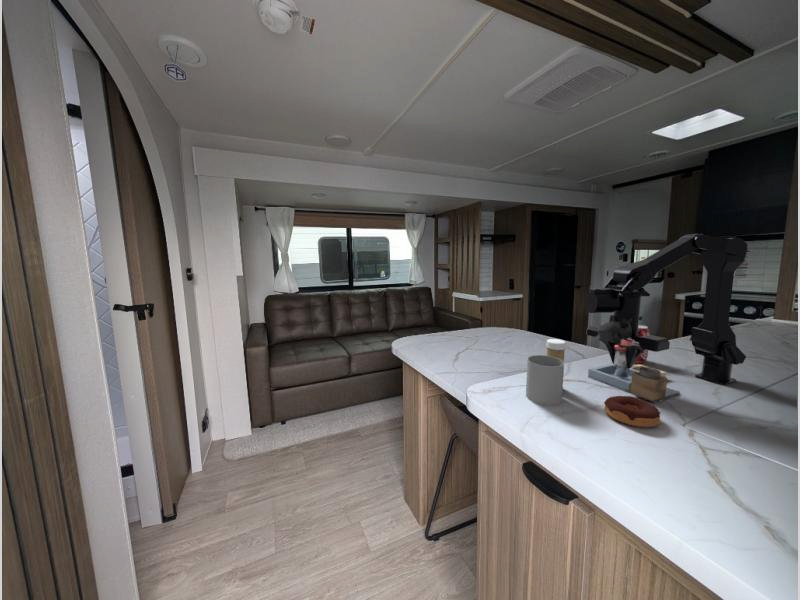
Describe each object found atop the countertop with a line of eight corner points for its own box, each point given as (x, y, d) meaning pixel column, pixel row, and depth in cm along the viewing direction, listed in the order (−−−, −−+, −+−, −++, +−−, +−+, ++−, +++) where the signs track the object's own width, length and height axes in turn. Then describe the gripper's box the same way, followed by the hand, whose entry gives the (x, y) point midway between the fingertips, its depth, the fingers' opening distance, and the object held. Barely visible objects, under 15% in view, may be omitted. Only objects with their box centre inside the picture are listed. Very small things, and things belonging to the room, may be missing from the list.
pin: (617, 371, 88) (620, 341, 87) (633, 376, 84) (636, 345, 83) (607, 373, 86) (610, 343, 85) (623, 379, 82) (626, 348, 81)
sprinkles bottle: (566, 388, 81) (569, 341, 79) (557, 393, 79) (560, 344, 77) (549, 383, 85) (552, 337, 83) (540, 387, 82) (543, 340, 80)
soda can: (645, 359, 102) (648, 325, 100) (648, 365, 96) (652, 329, 94) (619, 355, 106) (622, 322, 104) (621, 361, 100) (624, 327, 98)
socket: (638, 370, 93) (639, 364, 92) (665, 378, 86) (666, 372, 86) (624, 374, 90) (624, 367, 90) (650, 382, 84) (651, 376, 83)
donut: (644, 409, 70) (646, 393, 69) (671, 434, 61) (673, 415, 60) (596, 405, 72) (597, 390, 72) (614, 428, 63) (616, 410, 62)
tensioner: (642, 388, 78) (645, 363, 77) (665, 396, 73) (668, 370, 72) (630, 392, 76) (632, 366, 75) (652, 401, 72) (656, 373, 70)
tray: (612, 370, 93) (613, 363, 92) (654, 384, 82) (655, 376, 82) (588, 376, 88) (588, 368, 88) (628, 392, 78) (629, 383, 78)
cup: (566, 397, 77) (568, 359, 75) (556, 409, 71) (558, 369, 69) (532, 387, 82) (534, 353, 81) (520, 398, 76) (522, 361, 75)
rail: (661, 387, 80) (661, 385, 80) (679, 394, 77) (679, 391, 77) (635, 395, 76) (635, 393, 76) (653, 402, 73) (654, 400, 73)
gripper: (575, 309, 88) (571, 359, 90) (647, 321, 71) (640, 383, 73) (600, 306, 92) (596, 354, 95) (674, 317, 75) (667, 375, 77)
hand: (621, 365), depth 85 cm, fingers closed on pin, 4 cm apart
